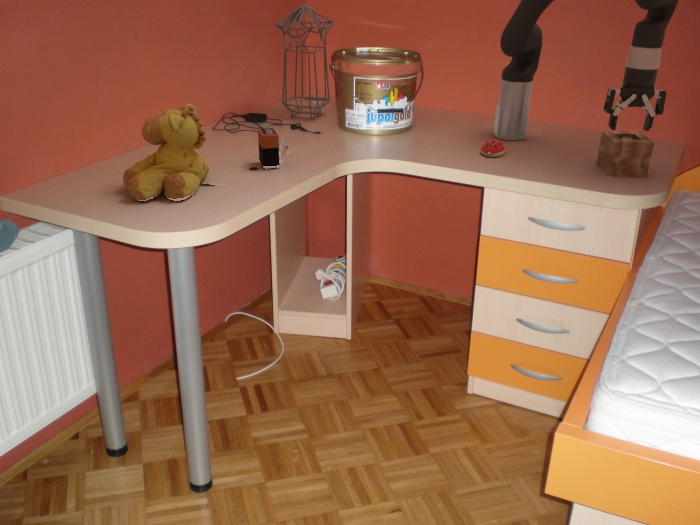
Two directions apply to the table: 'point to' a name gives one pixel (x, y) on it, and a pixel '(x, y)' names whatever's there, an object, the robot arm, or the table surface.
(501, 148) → the ladybug figurine
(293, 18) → the geometric lantern
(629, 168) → the socket block
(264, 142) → the battery
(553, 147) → the table surface
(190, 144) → the giraffe plush
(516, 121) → the robot arm
